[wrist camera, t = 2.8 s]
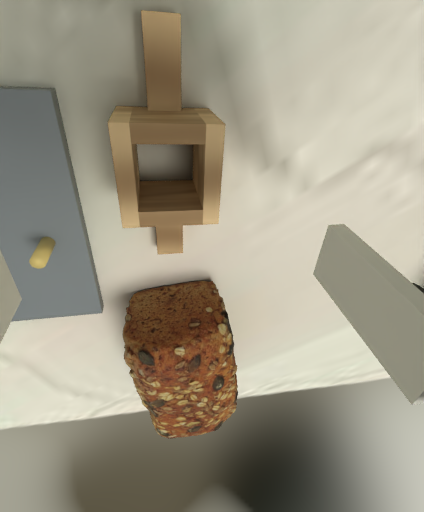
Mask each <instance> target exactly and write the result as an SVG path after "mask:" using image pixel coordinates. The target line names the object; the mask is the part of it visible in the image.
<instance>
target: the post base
mask: <svg viewBox="0 0 424 512" xmlns="http://www.w3.org/2000/svg"><path fill="white" fill-rule="evenodd" d="M0 250H1V253H2V255H3V257H4V259H5V262H6V264H7V266H8V269H9V271H10V273H11V275H12V278H13V280H14V282H15V285H16V287H17V289H18V291H19V294H20V296H21V298H22V300H21V302H20V304H19V306H18V308H17V310H16V312H15V314H14V316H13V318H12V320H11V321H21V320H32V319H43V318H54V317H65V316H75V315H86V314H97V313H102V312H103V306H104V305H103V300H102V296H101V291H100V287H99V283H98V278H97V274H96V269H95V265H94V260H93V256H92V251H91V247H90V243H89V238H88V234H87V229H86V225H85V220H84V216H83V211H82V207H81V203H80V198H79V194H78V189H77V185H76V180H75V176H74V172H73V167H72V163H71V158H70V154H69V149H68V145H67V140H66V136H65V132H64V127H63V123H62V118H61V114H60V109H59V105H58V100H57V96H56V92H55V89H52V88H24V87H0Z"/></svg>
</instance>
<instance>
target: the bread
mask: <svg viewBox="0 0 424 512" xmlns="http://www.w3.org/2000/svg"><path fill="white" fill-rule="evenodd" d="M129 302H130V306H129V307H127V308H126V312H127V315H126V317H125V321H126V323H125V326H124V329H123V339H124V342H125V347H124V348H125V353H124V359H125V362H126V364H127V365H128V366H129V367H130V368H131V370H130V372H129V374H130V375H131V377H132V378H133V381H134V384H135V387H136V389H137V392H138V394H139V396H140V397H141V399H142V404H143V405H144V406H145V407H146V408H147V409H148V410H149V411H150V415H151V419H152V422H153V425H154V426H155V430H156V431H157V433H158V434H159V435H161V436H164V437H167V438H175V437H187V436H192V435H201V434H204V433H208V432H211V431H216V430H217V429H218V428H219V427H220V426H221V425H222V423H223V422H224V421H225V420H226V419H227V418H229V417H231V414H232V413H233V412H235V409H236V405H237V403H236V400H237V395H238V391H237V387H238V386H237V378H236V374H235V373H236V371H237V365H236V363H235V357H234V353H233V352H234V351H233V347H234V342H233V334H232V331H231V327H230V324H229V319H228V314H227V312H226V310H225V305H224V302H223V298H222V297H220V296H219V293H218V289H216V286H215V284H214V283H213V281H210V282H207V281H193V282H188V283H180V284H176V285H170V286H161V287H158V288H150V289H145V290H142V291H139V292H137V293H135V294H134V295H133V296H132V298H131V300H130V301H129Z"/></svg>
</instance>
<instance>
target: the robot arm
mask: <svg viewBox="0 0 424 512" xmlns="http://www.w3.org/2000/svg"><path fill="white" fill-rule="evenodd" d="M313 274H314V276H315V277H316V278H317V280H318V281H319V282H320V284H321V285H322V286H323V288H324V289H325V290H326V292H327V293H328V294H329V296H330V297H331V298H332V300H333V301H334V302H335V304H336V305H337V306H338V308H339V309H340V310H341V312H342V313H343V314H344V316H345V317H346V318H347V320H348V321H349V322H350V323H351V325H352V326H353V327H354V329H355V330H356V331H357V333H358V334H359V335H360V337H361V338H362V339H363V341H364V342H365V343H366V345H367V346H368V347H369V349H370V350H371V351H372V353H373V354H374V355H375V357H376V358H377V359H378V361H379V362H380V363H381V365H382V366H383V367H384V369H385V370H386V371H387V373H388V374H389V375H390V376H391V378H392V379H393V380H394V382H395V383H396V384H397V386H398V387H399V388H400V389H401V391H402V392H403V394H404V395H405V396H406V398H407V399H408V400H409V402H410V403H411V404H412V405H415V404H419V403H424V288H422V287H420V286H418V285H417V284H415V283H411V282H410V281H409V280H408V279H406V278H405V277H404V276H403V275H402V274H401V273H400V272H398V271H397V270H396V269H395V268H394V267H393V266H392V265H390V264H389V263H388V262H387V261H386V260H385V259H384V258H382V257H381V256H380V255H379V254H378V253H377V252H375V251H374V250H373V249H372V248H371V247H370V246H369V245H367V244H366V243H365V242H364V241H363V240H362V239H361V238H359V237H358V236H357V235H356V234H355V233H354V232H353V231H351V230H350V229H349V228H348V227H347V226H346V225H344V224H339V225H328V229H327V232H326V235H325V238H324V241H323V244H322V248H321V251H320V254H319V257H318V260H317V264H316V267H315V270H314V273H313ZM21 300H22V298H21V296H20V294H19V291H18V289H17V287H16V285H15V282H14V280H13V278H12V275H11V273H10V271H9V269H8V266H7V264H6V262H5V259H4V257H3V255H2V253H1V250H0V343H1V341H2V339H3V337H4V335H5V333H6V331H7V329H8V327H9V325H10V323H11V320H12V318H13V316H14V314H15V312H16V310H17V308H18V306H19V304H20V302H21Z"/></svg>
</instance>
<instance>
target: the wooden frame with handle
mask: <svg viewBox="0 0 424 512" xmlns="http://www.w3.org/2000/svg"><path fill="white" fill-rule="evenodd" d="M141 18H142V32H143V47H144V61H145V76H146V91H147V105H148V107H133V106H116V107H115V109H114V111H113V113H112V115H111V117H110V119H109V121H108V129H109V136H110V143H111V150H112V157H113V164H114V171H115V178H116V185H117V192H118V199H119V205H120V212H121V219H122V226H123V228H136V227H156V236H157V251H158V254H172V253H183V225H203V224H218V221H219V207H220V193H221V179H222V165H223V151H224V137H225V124H224V123H223V122H222V121H221V120H220V119H219V118H218V117H217V116H216V115H215V114H214V113H213V112H212V111H211V110H210V109H208V108H181V14H179V13H167V12H155V11H143V10H141ZM136 144H193V180H171V181H140V177H139V166H138V156H137V145H136Z"/></svg>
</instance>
